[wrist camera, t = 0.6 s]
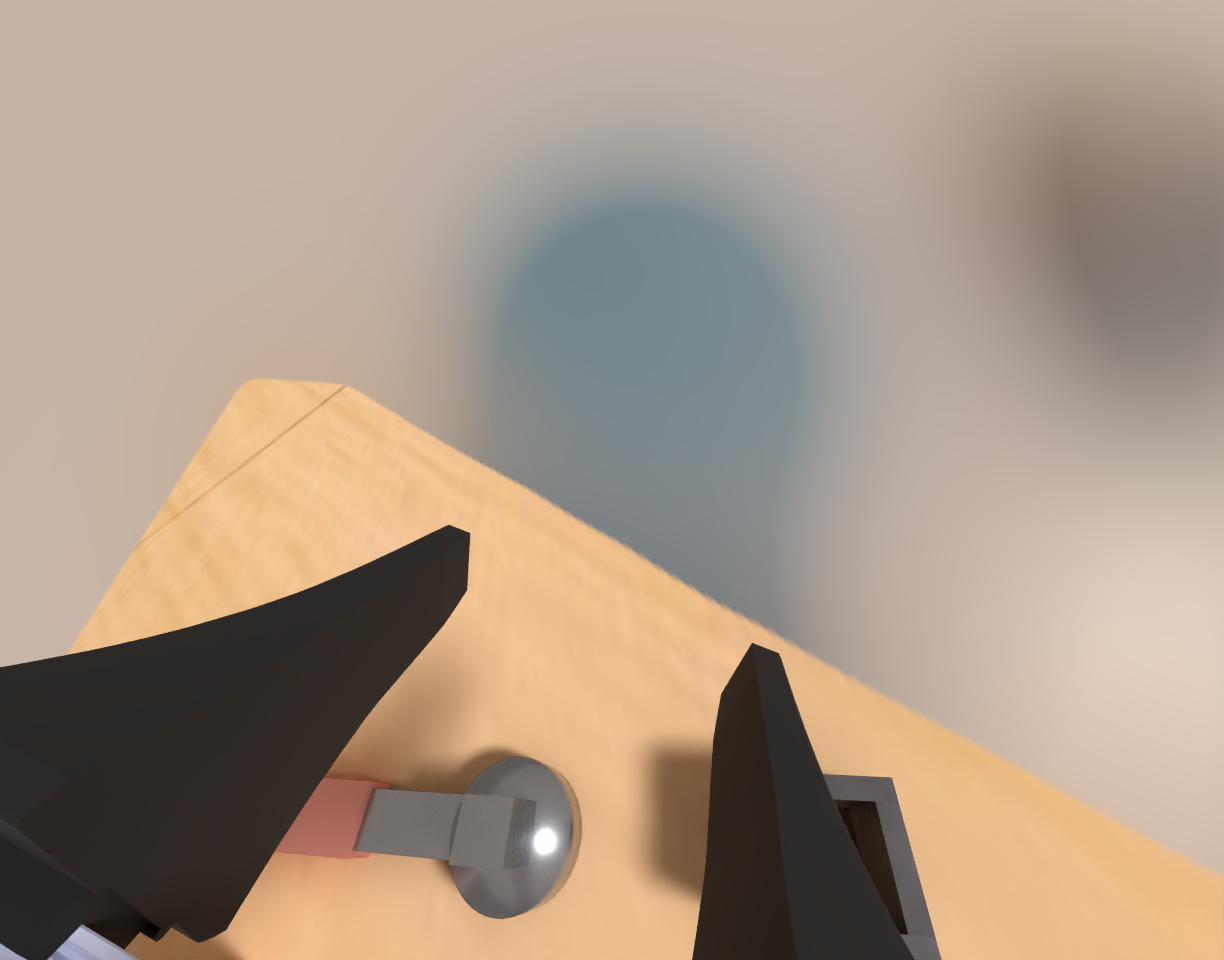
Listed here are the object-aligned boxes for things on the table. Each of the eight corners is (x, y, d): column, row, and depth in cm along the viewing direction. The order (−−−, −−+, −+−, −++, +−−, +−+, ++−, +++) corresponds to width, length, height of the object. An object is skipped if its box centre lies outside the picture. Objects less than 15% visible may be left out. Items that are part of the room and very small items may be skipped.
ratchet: (246, 879, 24) (150, 888, 20) (300, 751, 28) (229, 736, 24) (574, 919, 20) (537, 938, 16) (587, 765, 24) (559, 750, 20)
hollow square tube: (899, 944, 18) (945, 973, 14) (764, 929, 19) (773, 952, 15) (862, 788, 21) (891, 777, 17) (749, 782, 22) (752, 770, 18)
